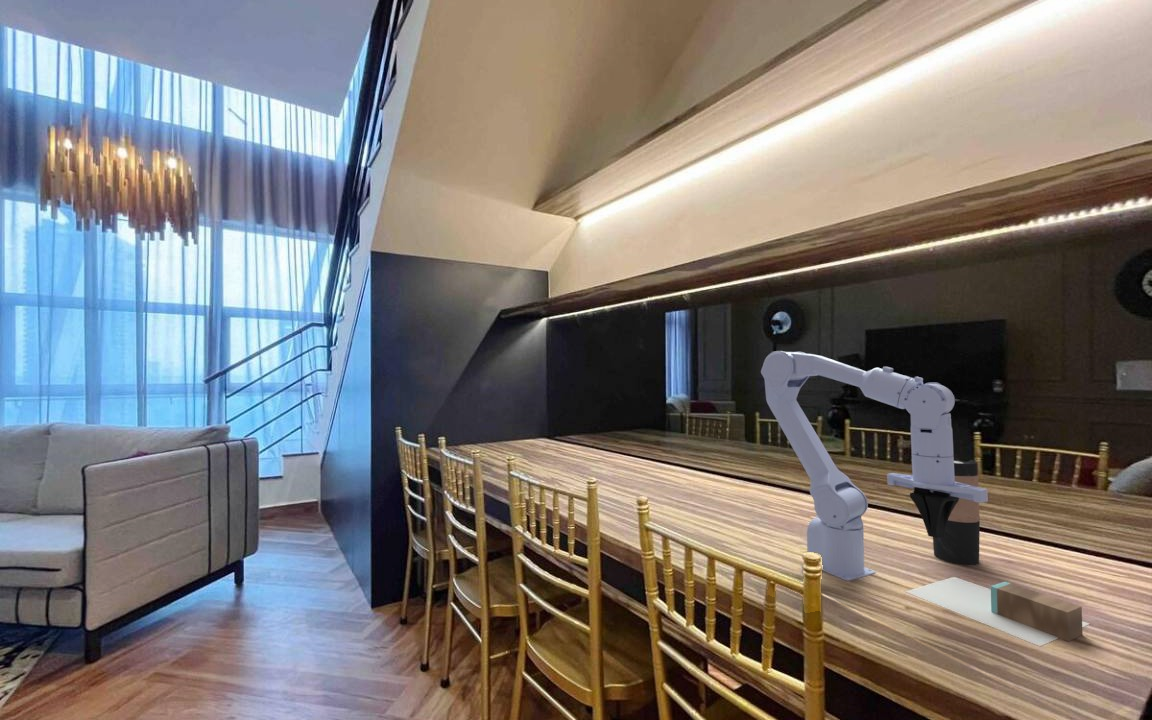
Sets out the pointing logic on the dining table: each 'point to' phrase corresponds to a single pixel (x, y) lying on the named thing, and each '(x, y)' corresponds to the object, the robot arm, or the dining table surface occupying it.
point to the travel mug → (961, 523)
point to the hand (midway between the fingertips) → (935, 536)
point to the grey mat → (977, 607)
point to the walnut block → (1037, 610)
